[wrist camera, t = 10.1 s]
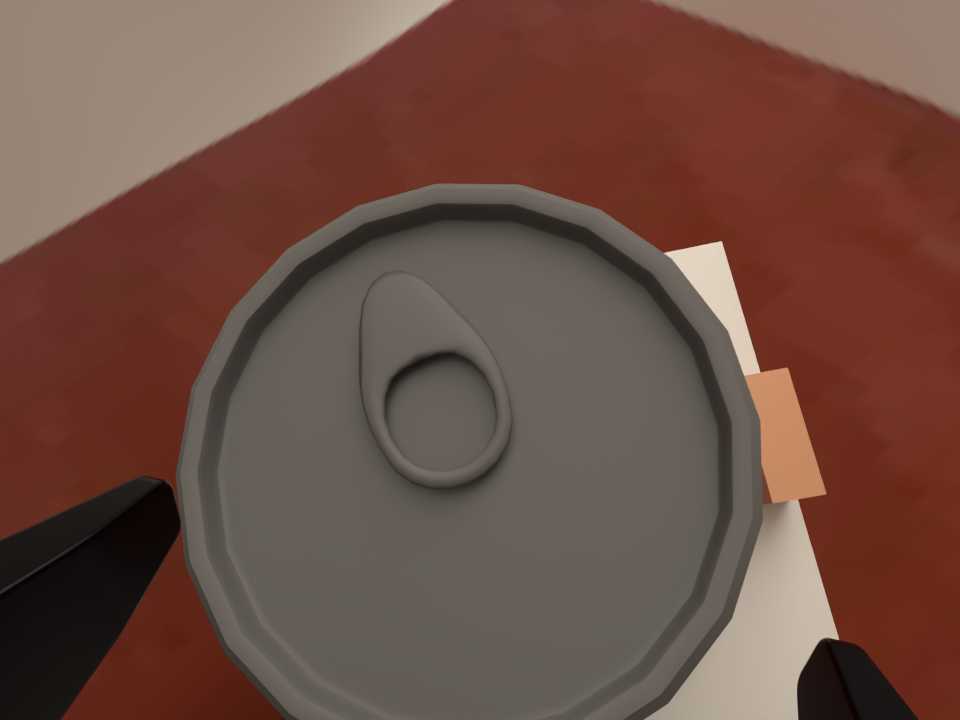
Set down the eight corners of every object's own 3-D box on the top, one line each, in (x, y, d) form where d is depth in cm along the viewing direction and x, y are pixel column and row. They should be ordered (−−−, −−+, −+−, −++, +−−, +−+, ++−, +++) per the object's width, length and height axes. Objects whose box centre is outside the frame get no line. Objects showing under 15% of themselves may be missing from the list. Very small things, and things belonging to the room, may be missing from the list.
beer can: (582, 340, 18) (623, 36, 7) (688, 561, 16) (998, 671, 5) (373, 430, 18) (57, 285, 7) (457, 659, 17) (223, 996, 5)
